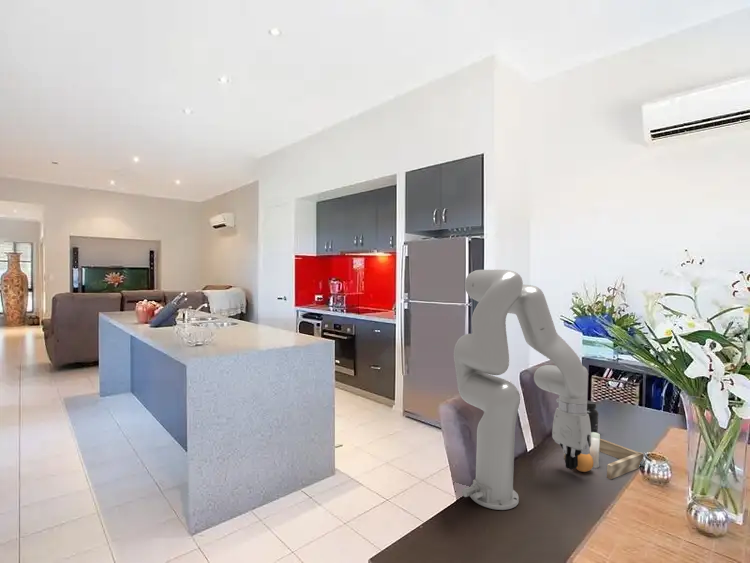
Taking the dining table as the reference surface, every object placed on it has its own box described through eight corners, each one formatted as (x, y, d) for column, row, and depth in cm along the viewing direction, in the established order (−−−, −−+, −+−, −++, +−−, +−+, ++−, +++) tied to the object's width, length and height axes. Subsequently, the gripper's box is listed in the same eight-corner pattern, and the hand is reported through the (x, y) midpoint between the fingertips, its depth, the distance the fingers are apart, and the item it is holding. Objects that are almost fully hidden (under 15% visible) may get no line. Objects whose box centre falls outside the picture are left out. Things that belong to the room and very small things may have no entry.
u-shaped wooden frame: (610, 479, 123) (611, 466, 123) (563, 459, 136) (564, 446, 136) (643, 466, 132) (643, 453, 132) (596, 448, 145) (596, 436, 145)
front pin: (595, 468, 130) (596, 441, 129) (587, 465, 132) (588, 438, 132) (600, 466, 131) (601, 439, 131) (592, 463, 133) (593, 436, 133)
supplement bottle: (600, 438, 154) (601, 405, 154) (580, 436, 156) (581, 404, 155) (594, 431, 161) (595, 400, 161) (575, 429, 162) (576, 398, 162)
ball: (591, 451, 125) (600, 461, 127) (573, 443, 130) (582, 454, 133) (582, 468, 123) (591, 479, 125) (564, 460, 128) (573, 470, 131)
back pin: (596, 462, 134) (597, 435, 134) (588, 459, 136) (589, 433, 136) (600, 460, 135) (601, 434, 135) (592, 457, 138) (593, 431, 138)
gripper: (542, 401, 129) (541, 460, 130) (589, 416, 116) (587, 482, 117) (558, 398, 133) (556, 455, 134) (604, 412, 120) (603, 475, 121)
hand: (571, 467), depth 125 cm, fingers closed
